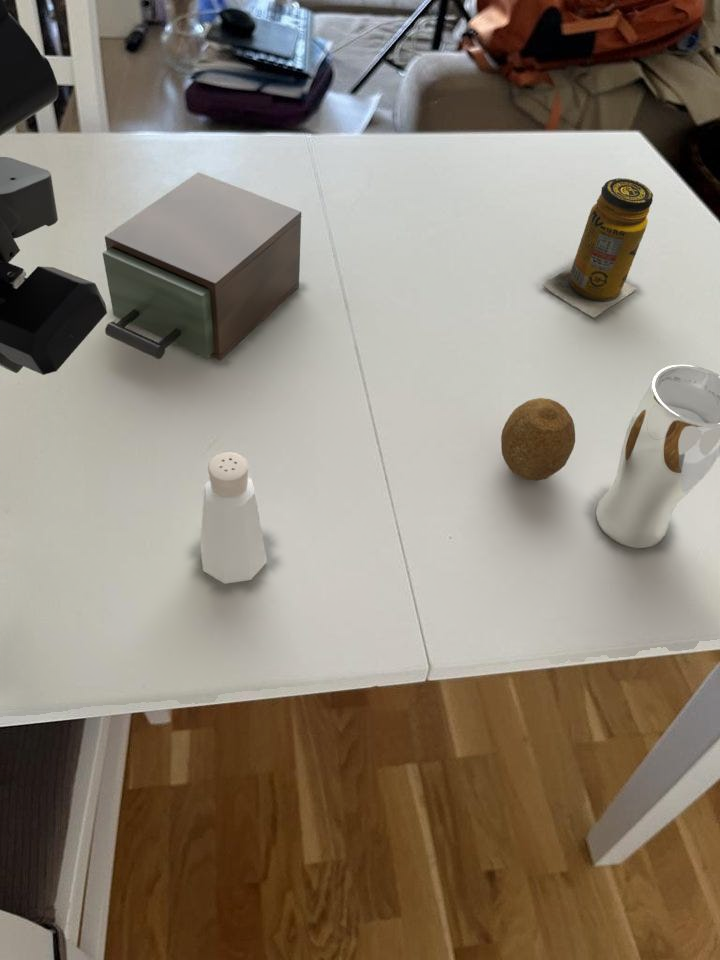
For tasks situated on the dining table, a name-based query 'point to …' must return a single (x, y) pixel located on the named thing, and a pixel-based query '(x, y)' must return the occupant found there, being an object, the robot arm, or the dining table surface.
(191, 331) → the drawer
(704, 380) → the beer glass
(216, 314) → the cabinet
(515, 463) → the fruit
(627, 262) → the condiment
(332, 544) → the dining table surface
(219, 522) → the salt shaker
